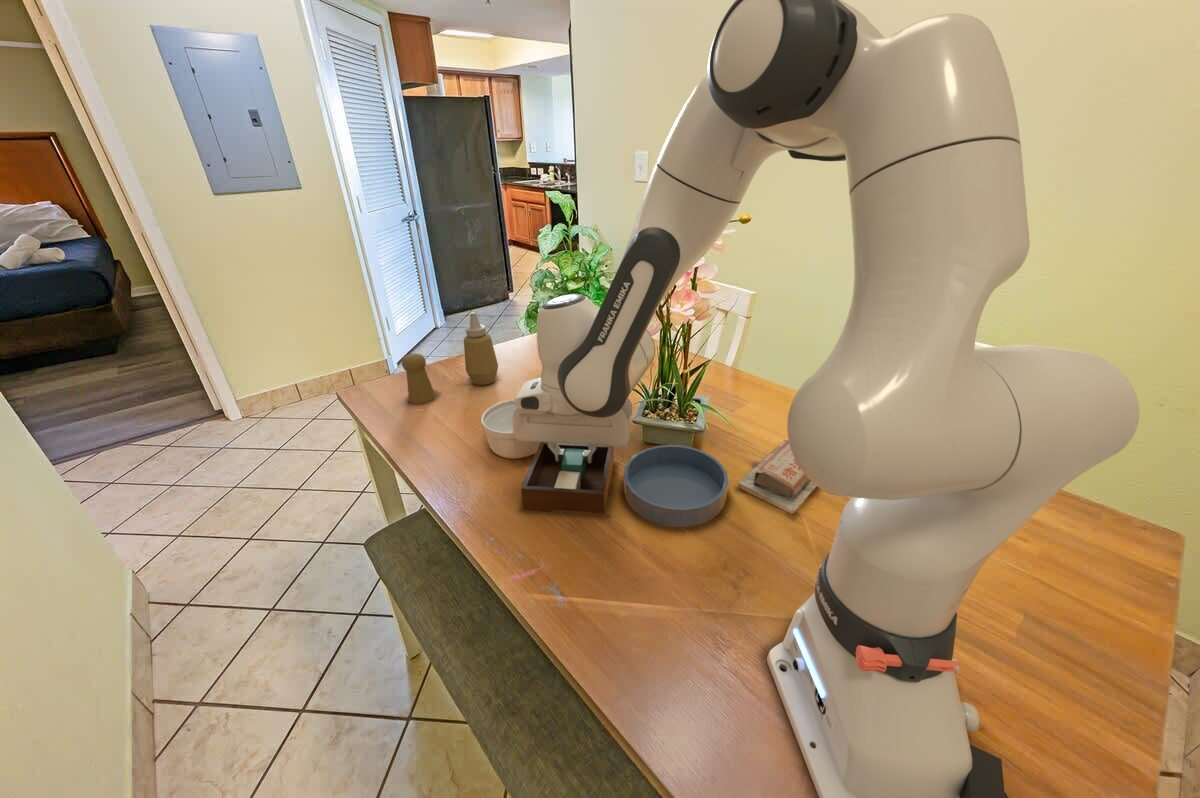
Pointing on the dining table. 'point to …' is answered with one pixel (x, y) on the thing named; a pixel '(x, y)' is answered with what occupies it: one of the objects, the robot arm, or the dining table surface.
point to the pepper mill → (417, 379)
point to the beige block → (568, 480)
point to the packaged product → (779, 480)
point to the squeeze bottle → (479, 353)
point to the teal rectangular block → (574, 461)
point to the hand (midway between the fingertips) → (573, 460)
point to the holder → (546, 497)
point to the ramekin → (505, 432)
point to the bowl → (675, 485)
